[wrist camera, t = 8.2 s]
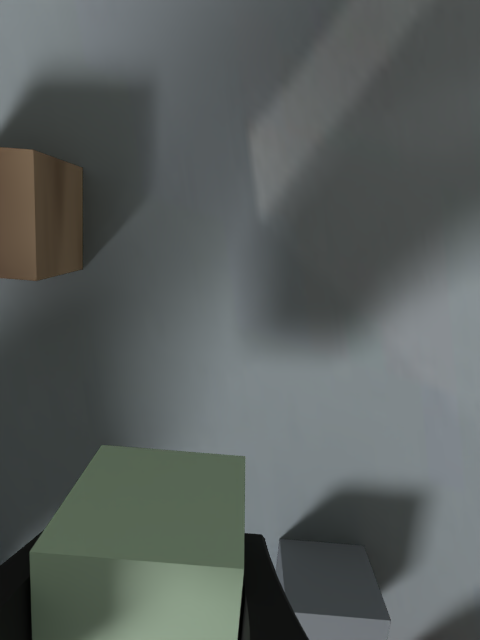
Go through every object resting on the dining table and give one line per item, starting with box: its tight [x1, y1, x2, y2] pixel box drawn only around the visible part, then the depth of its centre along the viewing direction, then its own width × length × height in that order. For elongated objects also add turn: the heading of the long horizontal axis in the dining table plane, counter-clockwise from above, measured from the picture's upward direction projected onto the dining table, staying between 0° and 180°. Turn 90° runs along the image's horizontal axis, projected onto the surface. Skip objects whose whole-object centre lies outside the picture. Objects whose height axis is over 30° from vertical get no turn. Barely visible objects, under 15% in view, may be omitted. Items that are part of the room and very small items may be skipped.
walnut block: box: [0, 147, 83, 281], centre depth 17 cm, size 4×4×4 cm
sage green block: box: [30, 445, 245, 640], centre depth 12 cm, size 4×4×4 cm
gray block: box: [276, 539, 391, 640], centre depth 21 cm, size 4×4×4 cm
